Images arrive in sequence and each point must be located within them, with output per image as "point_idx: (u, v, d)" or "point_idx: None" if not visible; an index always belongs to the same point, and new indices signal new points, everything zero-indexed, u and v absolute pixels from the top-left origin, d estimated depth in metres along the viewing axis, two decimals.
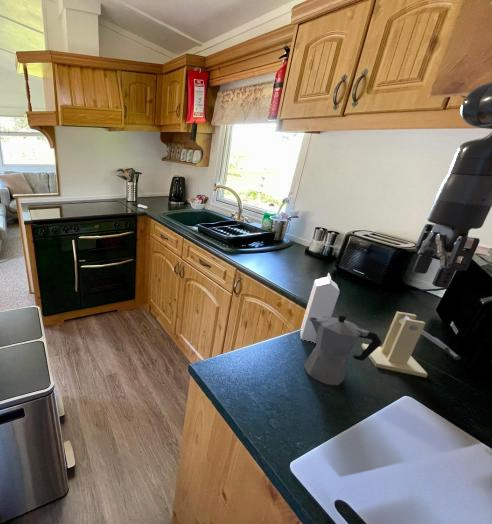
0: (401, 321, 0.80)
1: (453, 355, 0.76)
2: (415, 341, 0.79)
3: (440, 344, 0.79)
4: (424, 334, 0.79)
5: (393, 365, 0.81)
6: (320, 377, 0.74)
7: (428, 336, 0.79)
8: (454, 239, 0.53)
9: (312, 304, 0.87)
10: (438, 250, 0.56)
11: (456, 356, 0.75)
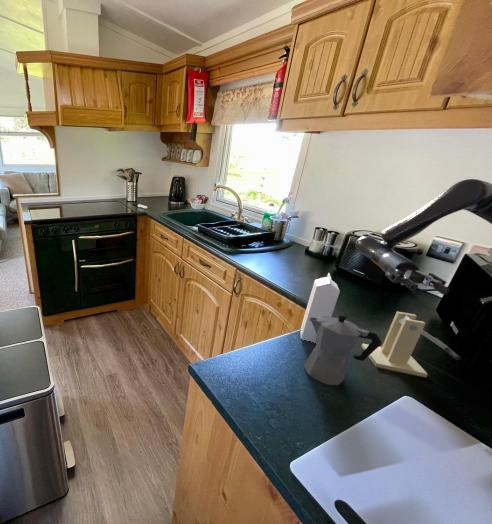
0: (401, 321, 0.80)
1: (453, 355, 0.76)
2: (415, 341, 0.79)
3: (440, 344, 0.79)
4: (424, 334, 0.79)
5: (393, 365, 0.81)
6: (320, 377, 0.74)
7: (428, 336, 0.79)
8: None
9: (312, 304, 0.87)
10: None
11: (456, 356, 0.75)
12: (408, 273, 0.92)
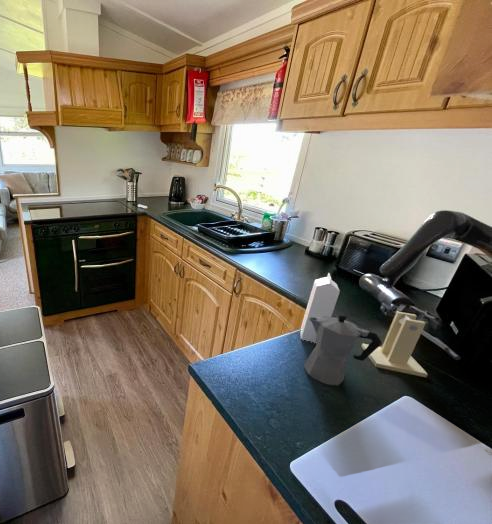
0: (401, 321, 0.80)
1: (453, 355, 0.76)
2: (415, 341, 0.79)
3: (440, 344, 0.79)
4: (424, 334, 0.79)
5: (393, 365, 0.81)
6: (320, 377, 0.74)
7: (428, 336, 0.79)
8: None
9: (312, 304, 0.87)
10: None
11: (456, 356, 0.75)
12: (401, 307, 0.96)
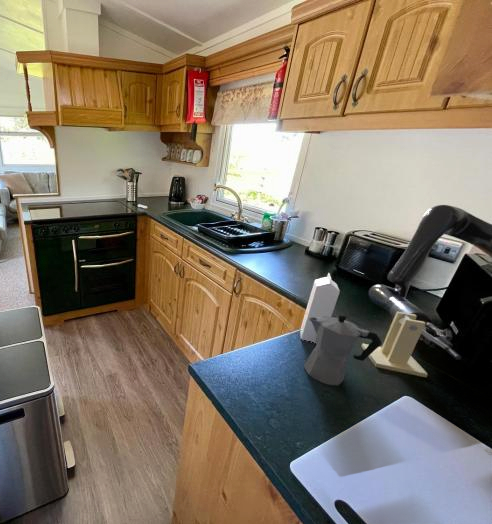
0: (401, 321, 0.81)
1: (454, 355, 0.76)
2: (415, 341, 0.79)
3: (440, 344, 0.79)
4: (424, 334, 0.79)
5: (393, 365, 0.81)
6: (320, 377, 0.74)
7: (428, 336, 0.79)
8: None
9: (312, 304, 0.87)
10: None
11: (457, 356, 0.75)
12: None
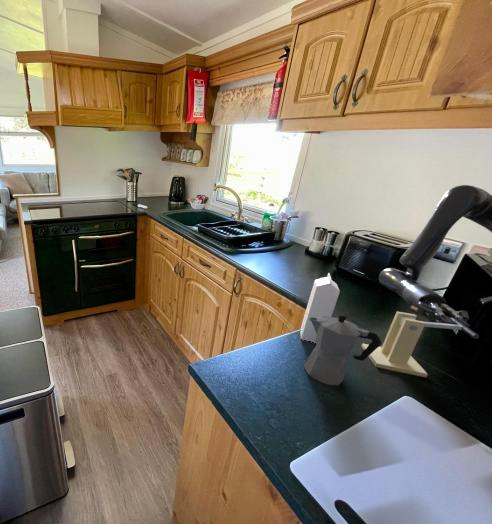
0: (401, 324, 0.81)
1: (471, 335, 0.73)
2: (415, 341, 0.79)
3: (454, 327, 0.77)
4: (431, 326, 0.78)
5: (393, 365, 0.81)
6: (320, 377, 0.74)
7: (436, 326, 0.78)
8: None
9: (312, 304, 0.87)
10: None
11: (473, 335, 0.73)
12: (437, 307, 0.84)
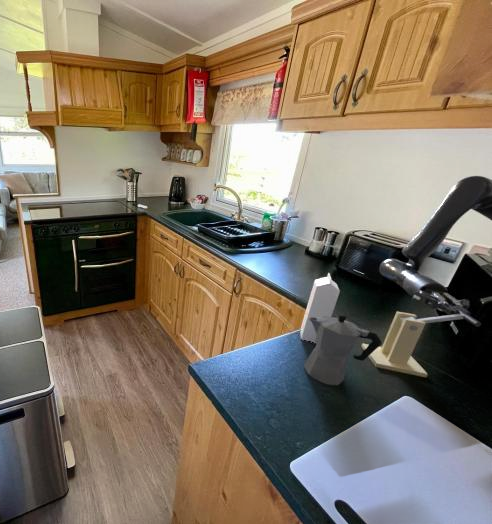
0: None
1: (472, 323, 0.72)
2: (415, 341, 0.79)
3: (455, 317, 0.76)
4: (431, 321, 0.78)
5: (393, 365, 0.81)
6: (320, 377, 0.74)
7: (437, 320, 0.77)
8: None
9: (312, 304, 0.87)
10: None
11: (475, 323, 0.72)
12: (440, 296, 0.83)
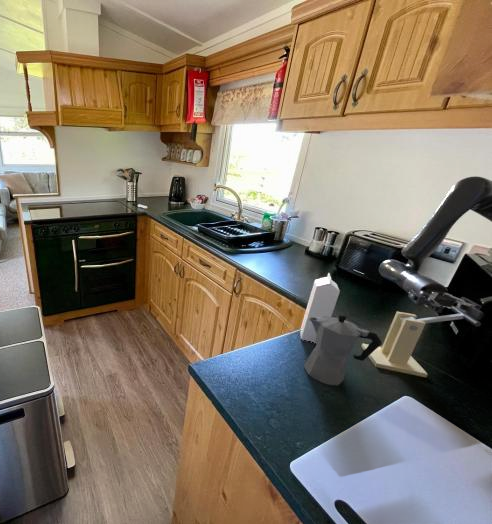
0: None
1: (472, 323, 0.72)
2: (415, 341, 0.79)
3: (455, 317, 0.76)
4: (431, 321, 0.78)
5: (393, 365, 0.81)
6: (320, 377, 0.74)
7: (437, 320, 0.77)
8: None
9: (312, 304, 0.87)
10: None
11: (475, 323, 0.72)
12: (434, 295, 0.83)
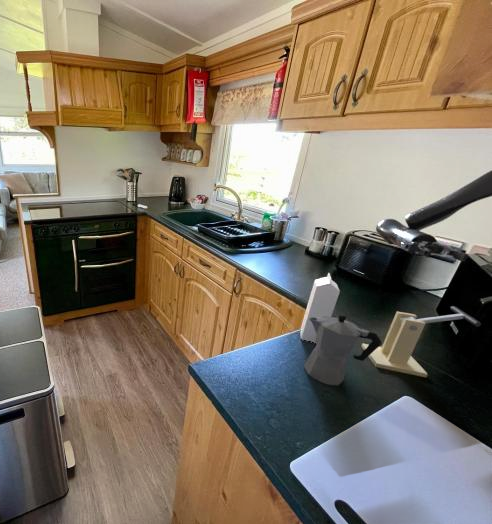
0: None
1: (472, 323, 0.72)
2: (415, 341, 0.79)
3: (455, 317, 0.76)
4: (431, 321, 0.78)
5: (393, 365, 0.81)
6: (320, 377, 0.74)
7: (437, 320, 0.77)
8: None
9: (312, 304, 0.87)
10: None
11: (475, 323, 0.72)
12: (423, 243, 0.91)
